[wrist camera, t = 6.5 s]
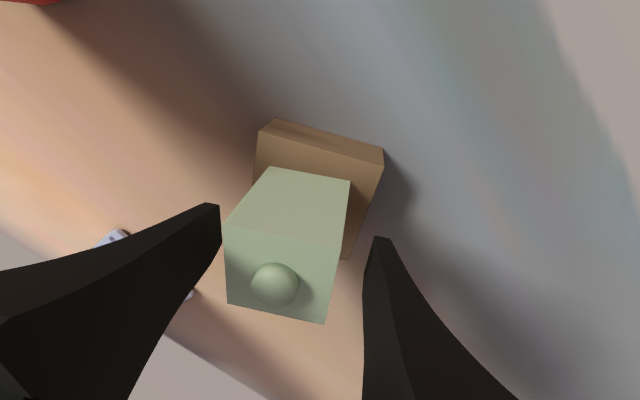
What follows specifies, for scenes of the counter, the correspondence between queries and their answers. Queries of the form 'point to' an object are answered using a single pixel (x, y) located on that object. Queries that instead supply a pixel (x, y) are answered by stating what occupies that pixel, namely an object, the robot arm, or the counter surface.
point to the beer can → (34, 1)
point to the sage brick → (286, 244)
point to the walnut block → (324, 165)
